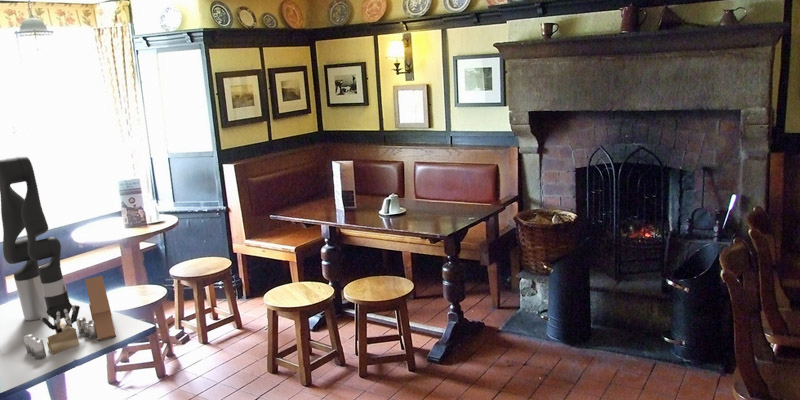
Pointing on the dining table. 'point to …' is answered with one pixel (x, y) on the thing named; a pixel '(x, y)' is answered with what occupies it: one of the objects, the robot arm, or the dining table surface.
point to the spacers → (37, 345)
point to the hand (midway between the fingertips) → (66, 336)
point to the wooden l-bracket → (63, 339)
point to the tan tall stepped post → (100, 308)
